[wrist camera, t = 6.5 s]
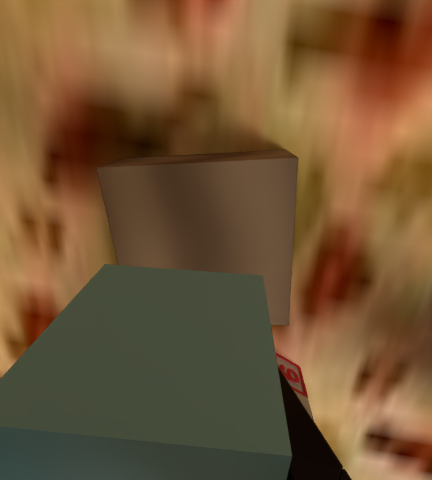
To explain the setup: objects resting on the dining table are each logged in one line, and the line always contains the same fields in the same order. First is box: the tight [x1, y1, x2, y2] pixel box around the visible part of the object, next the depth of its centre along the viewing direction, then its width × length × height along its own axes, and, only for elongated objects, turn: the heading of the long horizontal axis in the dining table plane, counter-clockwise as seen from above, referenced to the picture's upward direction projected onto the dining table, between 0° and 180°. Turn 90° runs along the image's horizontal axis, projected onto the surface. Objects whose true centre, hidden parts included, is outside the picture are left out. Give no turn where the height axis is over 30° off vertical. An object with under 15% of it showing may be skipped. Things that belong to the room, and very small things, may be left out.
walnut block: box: [96, 150, 298, 325], centre depth 17 cm, size 10×10×4 cm
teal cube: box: [0, 264, 292, 480], centre depth 7 cm, size 5×5×5 cm
